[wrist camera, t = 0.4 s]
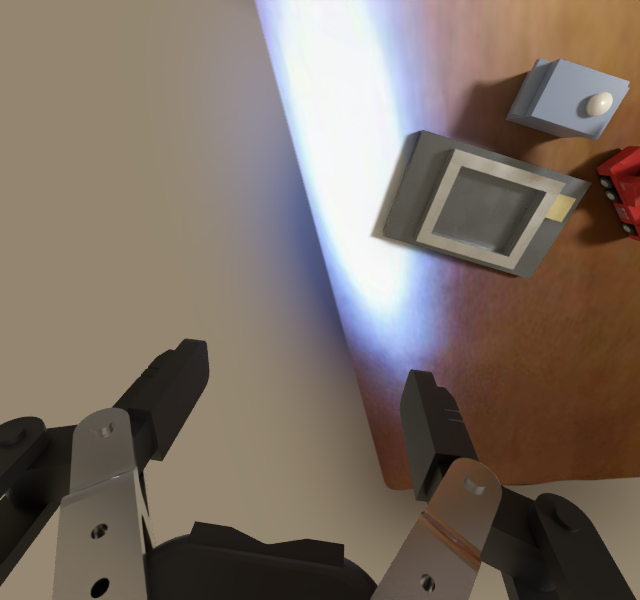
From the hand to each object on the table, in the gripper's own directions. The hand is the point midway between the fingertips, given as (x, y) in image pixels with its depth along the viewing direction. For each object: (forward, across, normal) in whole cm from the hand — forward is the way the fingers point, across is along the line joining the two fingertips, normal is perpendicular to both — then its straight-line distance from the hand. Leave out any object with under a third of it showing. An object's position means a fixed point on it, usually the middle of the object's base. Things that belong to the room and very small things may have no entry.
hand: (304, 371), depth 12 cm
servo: (+28, -19, -13) cm, 36 cm away
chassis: (+27, -16, -3) cm, 31 cm away
